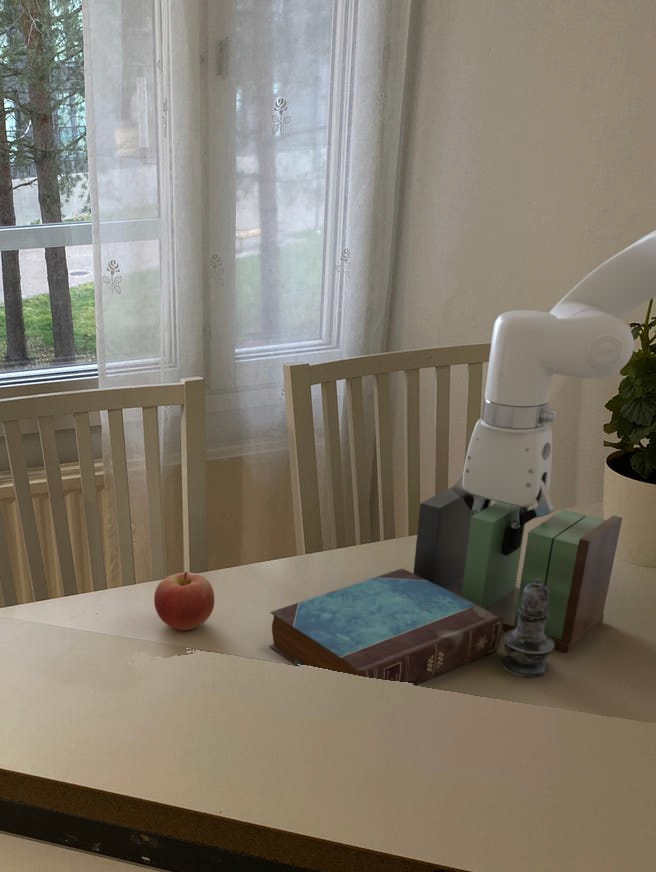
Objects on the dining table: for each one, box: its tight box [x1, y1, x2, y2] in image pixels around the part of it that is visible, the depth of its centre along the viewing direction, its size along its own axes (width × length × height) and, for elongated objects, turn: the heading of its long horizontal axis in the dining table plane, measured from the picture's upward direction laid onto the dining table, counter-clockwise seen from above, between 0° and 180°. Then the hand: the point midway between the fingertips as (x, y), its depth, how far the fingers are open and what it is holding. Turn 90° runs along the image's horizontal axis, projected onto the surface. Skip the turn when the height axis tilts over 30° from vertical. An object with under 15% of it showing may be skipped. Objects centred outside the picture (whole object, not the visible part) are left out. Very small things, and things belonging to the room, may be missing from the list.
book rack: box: [412, 486, 623, 654], centre depth 121 cm, size 11×24×15 cm, turn 46°
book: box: [269, 568, 503, 685], centre depth 114 cm, size 23×18×5 cm
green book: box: [461, 501, 526, 610], centre depth 122 cm, size 10×3×13 cm, turn 136°
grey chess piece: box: [500, 577, 554, 679], centre depth 108 cm, size 6×6×12 cm
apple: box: [153, 571, 215, 631], centre depth 121 cm, size 8×8×8 cm
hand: (495, 546), depth 122 cm, fingers open, 3 cm apart
